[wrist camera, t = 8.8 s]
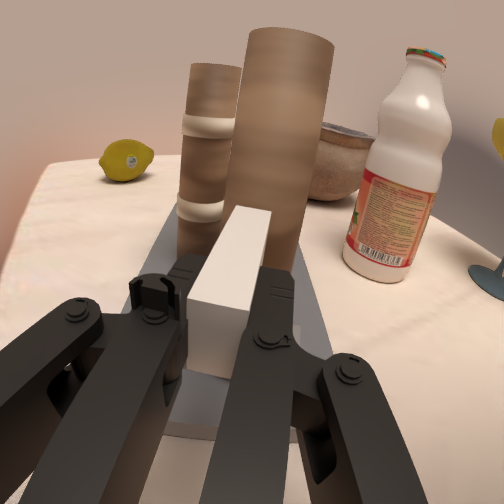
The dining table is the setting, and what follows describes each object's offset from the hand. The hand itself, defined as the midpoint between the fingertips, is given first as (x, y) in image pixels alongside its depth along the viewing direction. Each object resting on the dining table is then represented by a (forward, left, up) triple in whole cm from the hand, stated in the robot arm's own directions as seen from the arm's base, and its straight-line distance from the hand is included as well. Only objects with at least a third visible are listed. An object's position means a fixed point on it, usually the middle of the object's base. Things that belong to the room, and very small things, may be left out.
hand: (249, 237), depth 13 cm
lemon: (+21, -43, -12) cm, 50 cm away
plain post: (-1, -2, -9) cm, 9 cm away
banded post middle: (+3, -13, -10) cm, 17 cm away
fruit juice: (-19, -20, -12) cm, 30 cm away
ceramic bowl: (-16, -47, -12) cm, 51 cm away
